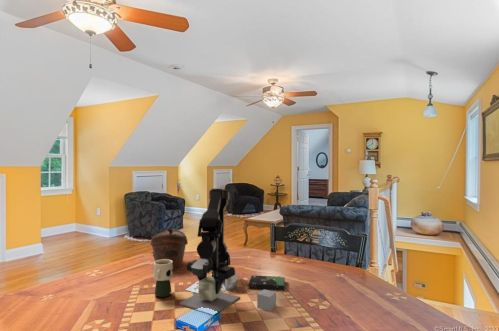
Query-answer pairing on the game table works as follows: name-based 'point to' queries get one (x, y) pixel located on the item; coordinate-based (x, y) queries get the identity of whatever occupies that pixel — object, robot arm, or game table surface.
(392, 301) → the game table surface
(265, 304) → the slate block
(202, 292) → the sage block
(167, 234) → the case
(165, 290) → the character mug
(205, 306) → the mat
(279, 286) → the disk drive
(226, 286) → the metal tin
